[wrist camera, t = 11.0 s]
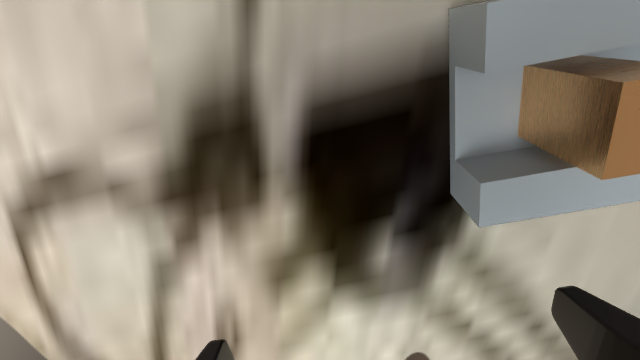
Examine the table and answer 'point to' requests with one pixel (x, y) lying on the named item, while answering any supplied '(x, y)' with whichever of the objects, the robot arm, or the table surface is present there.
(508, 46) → the bracket
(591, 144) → the brown wooden block
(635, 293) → the table surface
